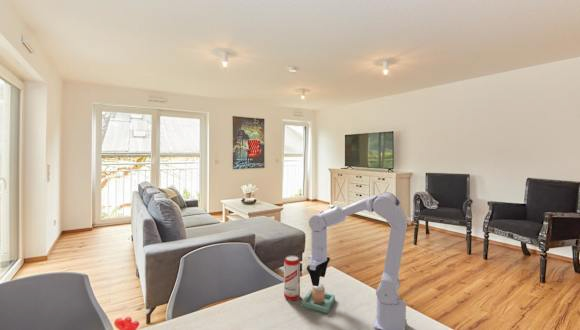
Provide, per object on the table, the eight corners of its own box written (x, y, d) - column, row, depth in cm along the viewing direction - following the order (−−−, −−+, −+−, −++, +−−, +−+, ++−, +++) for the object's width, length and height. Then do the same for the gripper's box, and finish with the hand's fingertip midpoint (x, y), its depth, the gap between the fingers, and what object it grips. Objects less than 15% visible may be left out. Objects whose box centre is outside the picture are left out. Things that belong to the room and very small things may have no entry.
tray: (334, 300, 108) (334, 295, 108) (327, 314, 99) (327, 309, 98) (310, 294, 112) (310, 289, 112) (301, 307, 103) (301, 302, 103)
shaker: (326, 300, 106) (326, 284, 106) (322, 306, 102) (322, 290, 102) (314, 297, 108) (314, 282, 108) (310, 303, 104) (310, 287, 104)
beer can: (298, 302, 106) (298, 261, 105) (282, 300, 107) (282, 260, 106) (301, 293, 112) (301, 255, 111) (285, 292, 113) (285, 254, 112)
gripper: (315, 238, 112) (315, 270, 113) (301, 250, 99) (301, 287, 100) (332, 240, 109) (331, 274, 110) (320, 253, 96) (320, 291, 97)
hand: (318, 280), depth 104 cm, fingers open, 7 cm apart
